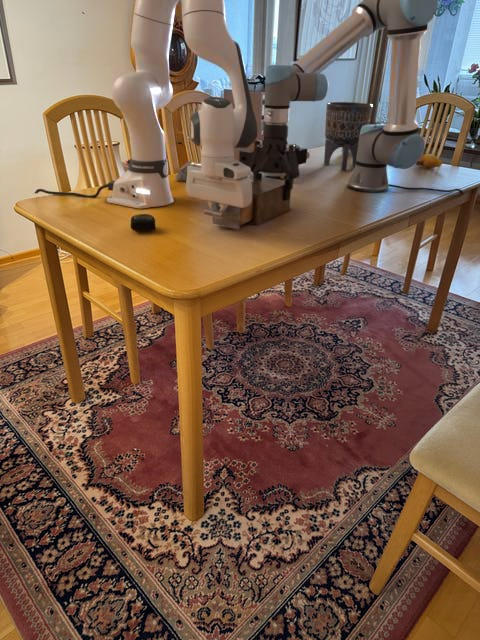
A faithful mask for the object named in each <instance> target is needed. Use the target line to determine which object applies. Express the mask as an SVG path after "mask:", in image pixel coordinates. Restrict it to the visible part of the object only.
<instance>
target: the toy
mask: <svg viewBox="0 0 480 640" xmlns="http://www.w3.org/2000/svg"><path fill="white" fill-rule="evenodd" d="M415 165H416V166H421V167H425V168H426V169H428V170H430V169H435V168H438V167H441V166H442V165H443V161H442V160H440V159H438V157H437V156H436V155H434V154H430V153H428V154H425V155H423V154H422V156H421V158H420V159H419V160H418V161H417V163H416V164H415Z"/></svg>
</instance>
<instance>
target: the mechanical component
mask: <svg viewBox="0 0 480 640" xmlns="http://www.w3.org/2000/svg"><path fill="white" fill-rule="evenodd" d="M264 149H265V148H264V146H262V147H261V152H260V155H259V158H258V161H259V160H260V158H261V156H262V153H263V151H264ZM285 152H286V154H287V159H288V162H289V164H290V160H289V154H288V151H287V148H286V150H285ZM238 154H239V155H238V157H239V159H238V161H240V162H241V163H243V164H245V165H246V166H248V167H249V165H250V161H251V158H252V154H253V151H250V150H246V149H241V150H239V153H238ZM310 156H311V154H310V152H309V151H308V148H304V147H301V146H299V145H297V144H296V157H297V163H298V168H299V167H300V165H303V164H304V165H305V164H307V160H309V158H310ZM257 163H258V162H257ZM290 167H291V166H290ZM260 173H262V178H264V177H279V178H280V179H285V176H286V174H285V172H284V169H283V167H282V164H281V162H280V160H279V159H278V156H277V157H276V156H273V155H271V156H269V157H268V159H267V160H266V162H265V164H264V165H263V167H262V169H261V171H260Z"/></svg>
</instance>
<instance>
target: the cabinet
mask: <svg viewBox="0 0 480 640" xmlns="http://www.w3.org/2000/svg"><path fill="white" fill-rule="evenodd" d="M251 183H252V197H254V198H255V205H254V219H253V220H251V221H249V222H246V223H245V224H250V225H254V226H258V225H260V224H262V223H264V222H266V221H269V220H271V219H273V218H275V217H277V216H279V215H282V214H284V213H285V212H288V211H290V208H291V198H290V199H288V200H286V201H284V186H285V179H278V178H272V177H268V176H266V177H262V178H261V179H258V180H255V181H253V180H251ZM291 194H292V190H290V197H291Z"/></svg>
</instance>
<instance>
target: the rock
mask: <svg viewBox="0 0 480 640" xmlns="http://www.w3.org/2000/svg"><path fill="white" fill-rule="evenodd" d="M192 162H193V161H190V160H187V161H186V163H185V164H184V165H182V166H181V167H180V168H179V169H178V171H177V175H176V180H177V181H178V182H179V181H180V182H185V183H186V180H187V167H188V165H189V164H191V163H192ZM190 166H191V165H190Z"/></svg>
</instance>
